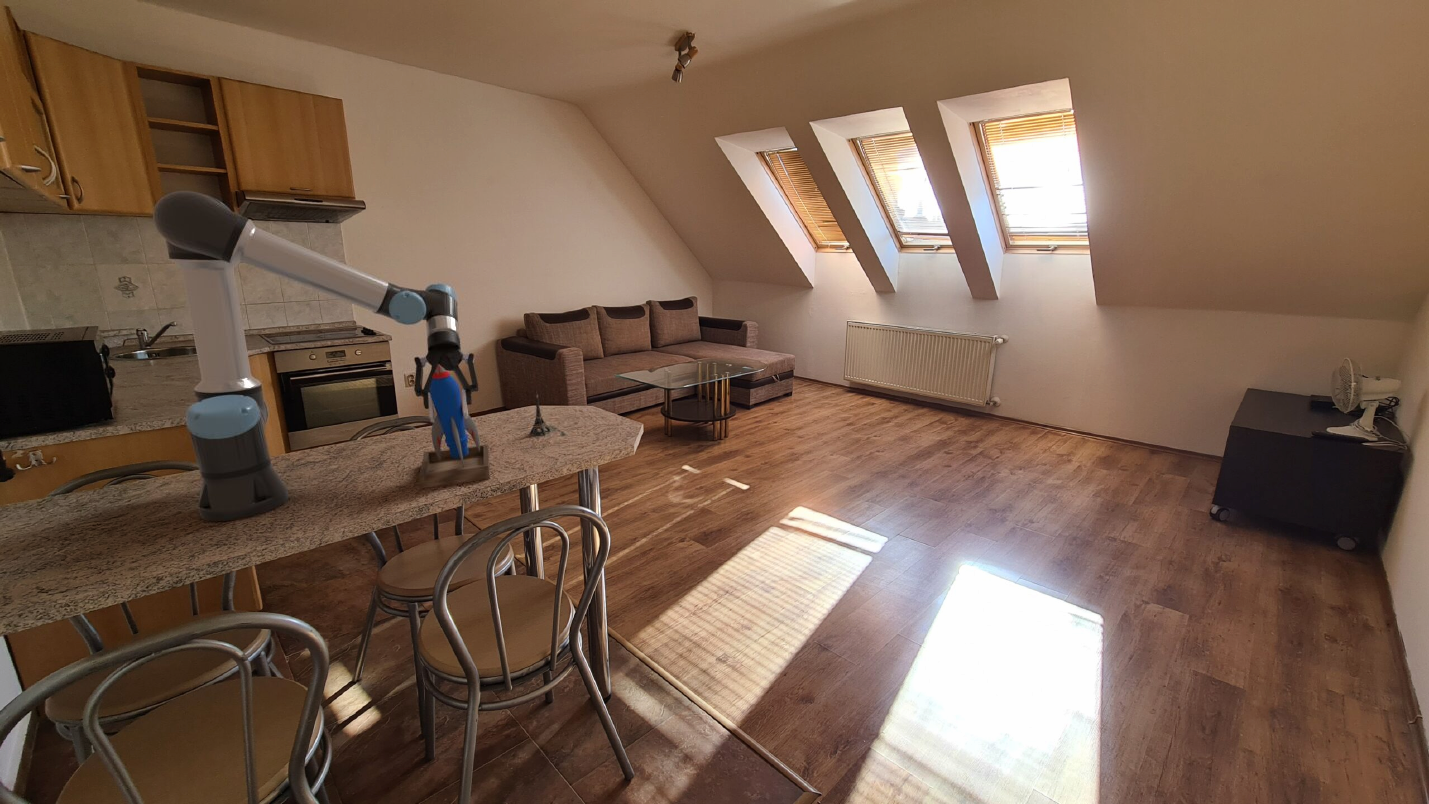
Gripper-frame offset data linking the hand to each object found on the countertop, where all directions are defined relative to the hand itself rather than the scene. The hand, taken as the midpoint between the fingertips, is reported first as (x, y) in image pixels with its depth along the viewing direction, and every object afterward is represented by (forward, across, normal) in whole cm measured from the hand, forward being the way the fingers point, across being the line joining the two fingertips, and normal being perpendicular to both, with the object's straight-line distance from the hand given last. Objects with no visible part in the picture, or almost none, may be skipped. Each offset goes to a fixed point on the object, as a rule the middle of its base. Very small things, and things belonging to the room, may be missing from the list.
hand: (449, 417), depth 137 cm
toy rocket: (+6, 0, -11) cm, 13 cm away
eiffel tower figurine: (-7, -22, -30) cm, 38 cm away
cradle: (+8, 0, -13) cm, 15 cm away
